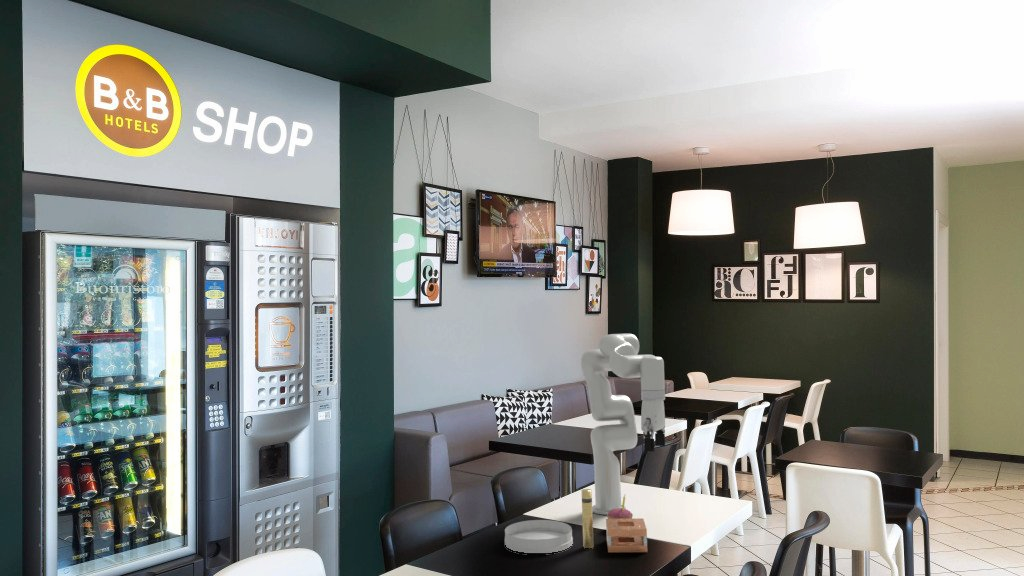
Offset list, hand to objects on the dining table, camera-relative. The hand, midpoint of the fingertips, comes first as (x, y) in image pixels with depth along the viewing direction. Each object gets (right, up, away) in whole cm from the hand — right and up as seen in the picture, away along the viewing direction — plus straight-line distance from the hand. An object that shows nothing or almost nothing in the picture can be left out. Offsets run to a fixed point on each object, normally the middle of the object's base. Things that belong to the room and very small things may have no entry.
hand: (655, 448), depth 246 cm
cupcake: (-9, -31, +14) cm, 35 cm away
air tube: (-22, -31, -4) cm, 38 cm away
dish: (-37, -32, +1) cm, 49 cm away
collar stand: (-10, -30, -4) cm, 32 cm away
